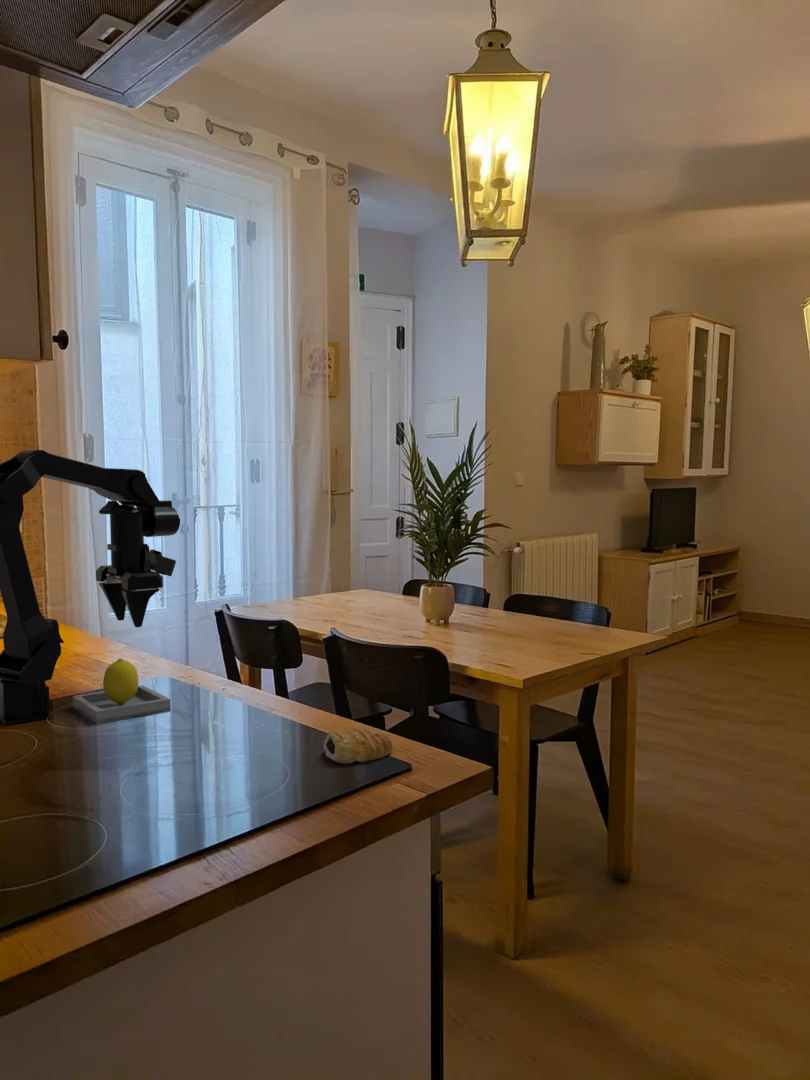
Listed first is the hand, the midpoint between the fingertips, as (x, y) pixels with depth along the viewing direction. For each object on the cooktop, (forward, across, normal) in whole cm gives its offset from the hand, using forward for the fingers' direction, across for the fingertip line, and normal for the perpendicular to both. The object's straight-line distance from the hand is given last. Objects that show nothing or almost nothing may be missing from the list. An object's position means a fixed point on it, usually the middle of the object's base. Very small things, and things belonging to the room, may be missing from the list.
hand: (129, 623), depth 143 cm
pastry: (+13, -55, -12) cm, 58 cm away
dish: (+12, -12, +6) cm, 18 cm away
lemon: (+12, -12, +6) cm, 18 cm away
